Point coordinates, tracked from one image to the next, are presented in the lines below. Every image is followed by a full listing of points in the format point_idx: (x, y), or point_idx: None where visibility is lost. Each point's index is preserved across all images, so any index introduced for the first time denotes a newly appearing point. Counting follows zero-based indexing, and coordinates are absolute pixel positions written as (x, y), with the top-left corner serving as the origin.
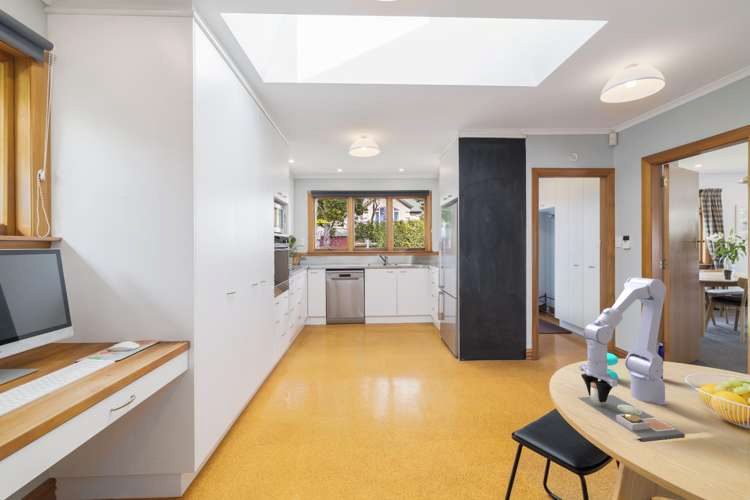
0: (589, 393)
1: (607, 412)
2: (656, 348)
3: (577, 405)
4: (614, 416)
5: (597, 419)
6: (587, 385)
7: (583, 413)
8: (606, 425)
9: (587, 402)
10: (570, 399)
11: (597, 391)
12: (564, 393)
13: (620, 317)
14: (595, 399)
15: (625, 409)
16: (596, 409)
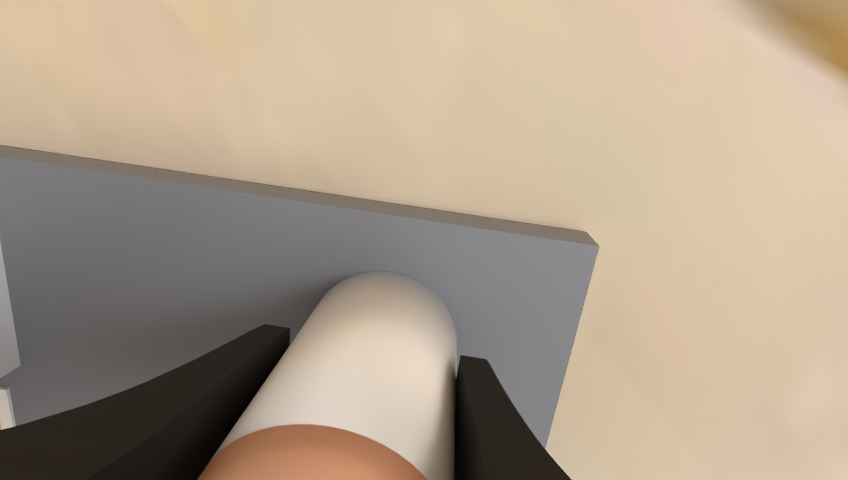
0: (470, 369)
1: (172, 257)
2: None
3: (498, 130)
4: (82, 248)
5: (146, 65)
6: (501, 451)
7: (303, 19)
8: (15, 45)
9: (443, 253)
10: (662, 183)
11: (246, 412)
12: (828, 252)
13: None
14: (328, 314)
15: None
16: (257, 196)
